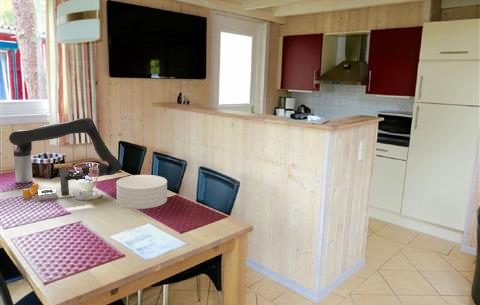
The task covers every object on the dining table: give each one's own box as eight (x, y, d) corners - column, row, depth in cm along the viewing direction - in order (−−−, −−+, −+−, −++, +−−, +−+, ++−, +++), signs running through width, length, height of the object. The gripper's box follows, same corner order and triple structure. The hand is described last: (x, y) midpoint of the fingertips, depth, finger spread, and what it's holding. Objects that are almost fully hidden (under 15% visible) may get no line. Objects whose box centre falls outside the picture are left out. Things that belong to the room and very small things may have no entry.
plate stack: (172, 194, 222) (172, 176, 220) (158, 210, 195) (158, 190, 192) (128, 191, 224) (128, 173, 222) (107, 206, 197) (107, 186, 195)
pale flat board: (31, 198, 203) (31, 196, 203) (72, 194, 214) (72, 191, 214) (32, 205, 194) (32, 202, 194) (75, 199, 205) (75, 197, 205)
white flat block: (38, 196, 204) (37, 190, 203) (55, 194, 208) (54, 188, 207) (39, 200, 196) (38, 194, 196) (56, 198, 201) (56, 192, 200)
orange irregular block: (31, 194, 211) (30, 183, 210) (38, 194, 211) (38, 183, 210) (20, 201, 199) (19, 189, 198) (28, 201, 200) (27, 190, 198)
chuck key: (56, 194, 206) (54, 164, 203) (73, 192, 211) (71, 162, 207) (56, 196, 203) (54, 165, 199) (74, 194, 208) (72, 164, 204)
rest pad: (56, 194, 208) (56, 193, 208) (71, 192, 212) (71, 191, 212) (58, 198, 201) (58, 197, 201) (73, 196, 206) (73, 195, 206)
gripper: (82, 163, 220) (55, 168, 207) (95, 168, 211) (67, 173, 198) (83, 175, 221) (56, 180, 209) (95, 180, 213) (68, 186, 200)
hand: (61, 177), depth 204 cm, fingers open, 8 cm apart
